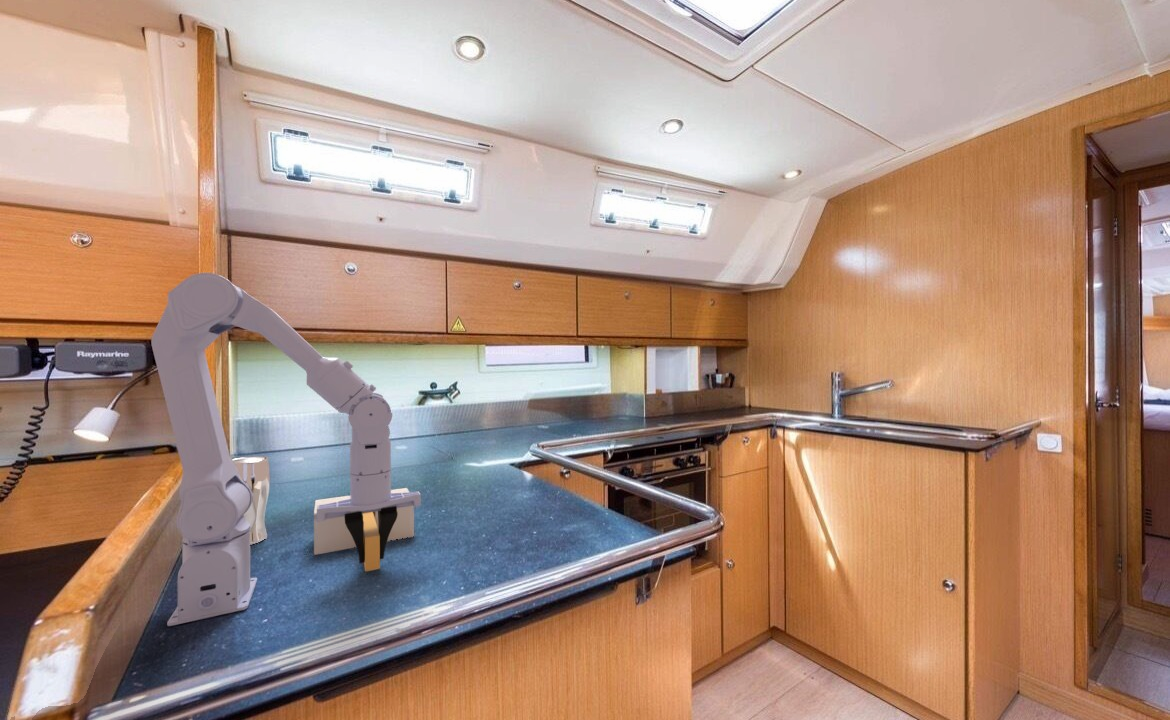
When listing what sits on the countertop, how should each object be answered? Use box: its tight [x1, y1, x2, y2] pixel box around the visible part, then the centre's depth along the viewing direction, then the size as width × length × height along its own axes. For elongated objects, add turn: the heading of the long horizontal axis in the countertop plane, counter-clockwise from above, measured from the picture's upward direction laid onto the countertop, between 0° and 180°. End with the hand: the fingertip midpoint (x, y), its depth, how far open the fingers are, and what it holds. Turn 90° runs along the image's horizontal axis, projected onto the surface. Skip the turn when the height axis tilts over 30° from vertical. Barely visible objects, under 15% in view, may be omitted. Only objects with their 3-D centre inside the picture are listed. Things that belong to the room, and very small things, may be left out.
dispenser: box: [313, 487, 415, 556], centre depth 84 cm, size 10×16×7 cm, turn 119°
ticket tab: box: [363, 512, 381, 572], centre depth 74 cm, size 14×2×5 cm, turn 29°
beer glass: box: [231, 455, 271, 546], centre depth 83 cm, size 7×7×15 cm
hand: (371, 558), depth 70 cm, fingers closed on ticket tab, 2 cm apart
